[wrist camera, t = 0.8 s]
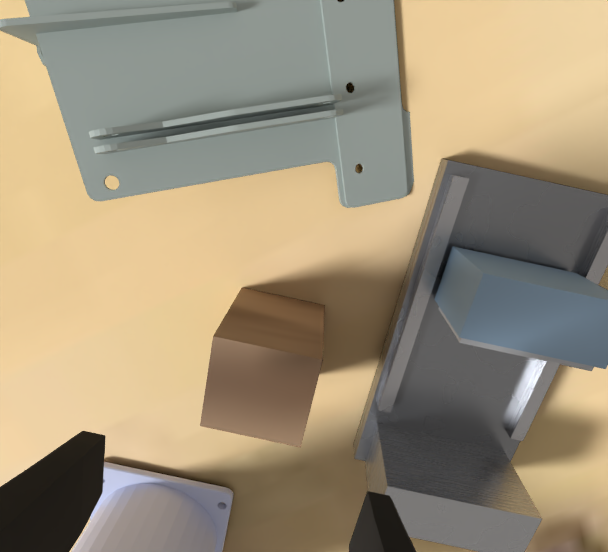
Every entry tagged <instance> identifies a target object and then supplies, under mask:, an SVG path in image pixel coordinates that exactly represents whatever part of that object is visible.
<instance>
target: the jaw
mask: <svg viewBox="0 0 608 552" xmlns="http://www.w3.org/2000/svg"><path fill="white" fill-rule="evenodd" d="M435 301H436V302H437V304H438V306H439V311H440V312H441V314H442V316H443V317H444V319H445V320H446V322H447V323H448V325H449V327H450V328H451V330H452V331H453V333H454V334H455V336H456V338H457V339H458V341H459V342H460V343H463V344H468V345H472V346H477V347H482V348H486V349H491V350H496V351H500V352H505V353H509V354H514V355H519V356H523V357H528V358H533V359H537V360H542V361H547V362H551V363H556V364H561V365H565V366H570V367H574V368H579V369H584V370H588V371H592V370H593V368H594V367H598V368H603V369H606V367H607V365H608V290H606V289H605V288H603V287H601V286H599V285H597V284H595V283H594V282H592V281H590V280H588V279H586V278H584V277H583V276H581V275H579V274H577V273H574V272H569V271H564V270H560V269H555V268H550V267H546V266H541V265H537V264H532V263H527V262H523V261H518V260H514V259H509V258H504V257H500V256H495V255H491V254H486V253H481V252H477V251H472V250H468V249H463V248H458V247H454V246H453V247H452V249H451V252H450V255H449V258H448V261H447V264H446V267H445V270H444V273H443V276H442V279H441V282H440V285H439V288H438V291H437V293H436V296H435Z"/></svg>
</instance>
